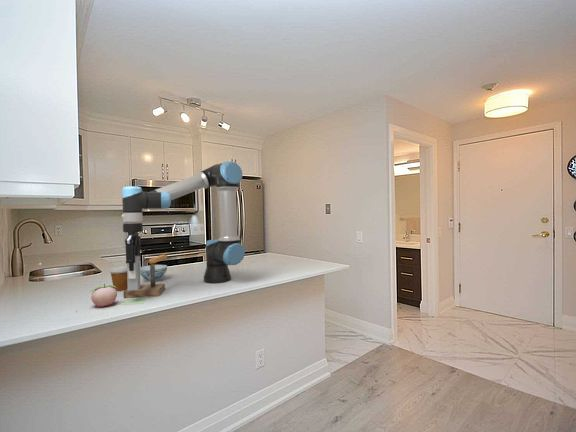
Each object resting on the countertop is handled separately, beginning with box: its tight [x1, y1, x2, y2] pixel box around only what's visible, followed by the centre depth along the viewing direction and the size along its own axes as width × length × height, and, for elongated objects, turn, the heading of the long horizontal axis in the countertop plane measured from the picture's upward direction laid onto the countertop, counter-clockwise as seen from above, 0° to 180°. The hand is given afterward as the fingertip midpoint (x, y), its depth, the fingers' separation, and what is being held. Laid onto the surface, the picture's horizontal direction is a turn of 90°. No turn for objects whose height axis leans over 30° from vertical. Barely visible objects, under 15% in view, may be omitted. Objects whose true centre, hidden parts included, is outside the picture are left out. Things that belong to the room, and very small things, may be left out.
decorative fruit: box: [90, 283, 118, 308], centre depth 125 cm, size 9×8×10 cm
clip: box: [148, 254, 168, 264], centre depth 150 cm, size 15×3×2 cm, turn 179°
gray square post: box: [126, 255, 142, 290], centre depth 131 cm, size 4×4×14 cm
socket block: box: [122, 263, 166, 299], centre depth 143 cm, size 15×12×15 cm
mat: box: [120, 297, 149, 306], centre depth 131 cm, size 9×9×1 cm
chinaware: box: [140, 264, 168, 283], centre depth 174 cm, size 15×15×8 cm
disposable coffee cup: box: [109, 265, 128, 292], centre depth 151 cm, size 10×10×12 cm
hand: (134, 277), depth 131 cm, fingers closed on gray square post, 4 cm apart
